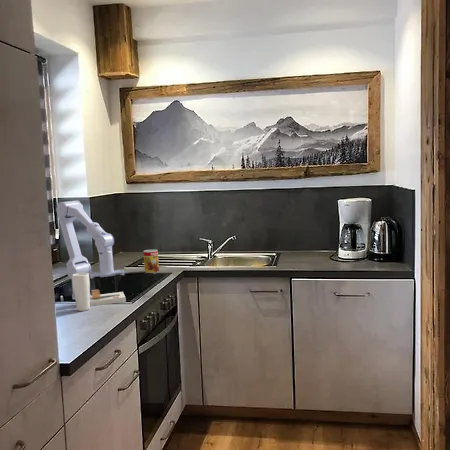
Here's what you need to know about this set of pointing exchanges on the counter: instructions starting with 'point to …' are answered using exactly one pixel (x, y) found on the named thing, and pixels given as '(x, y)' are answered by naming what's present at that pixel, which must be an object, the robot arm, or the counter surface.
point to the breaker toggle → (95, 294)
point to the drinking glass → (81, 290)
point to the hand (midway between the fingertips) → (108, 292)
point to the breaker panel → (108, 299)
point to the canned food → (151, 261)
